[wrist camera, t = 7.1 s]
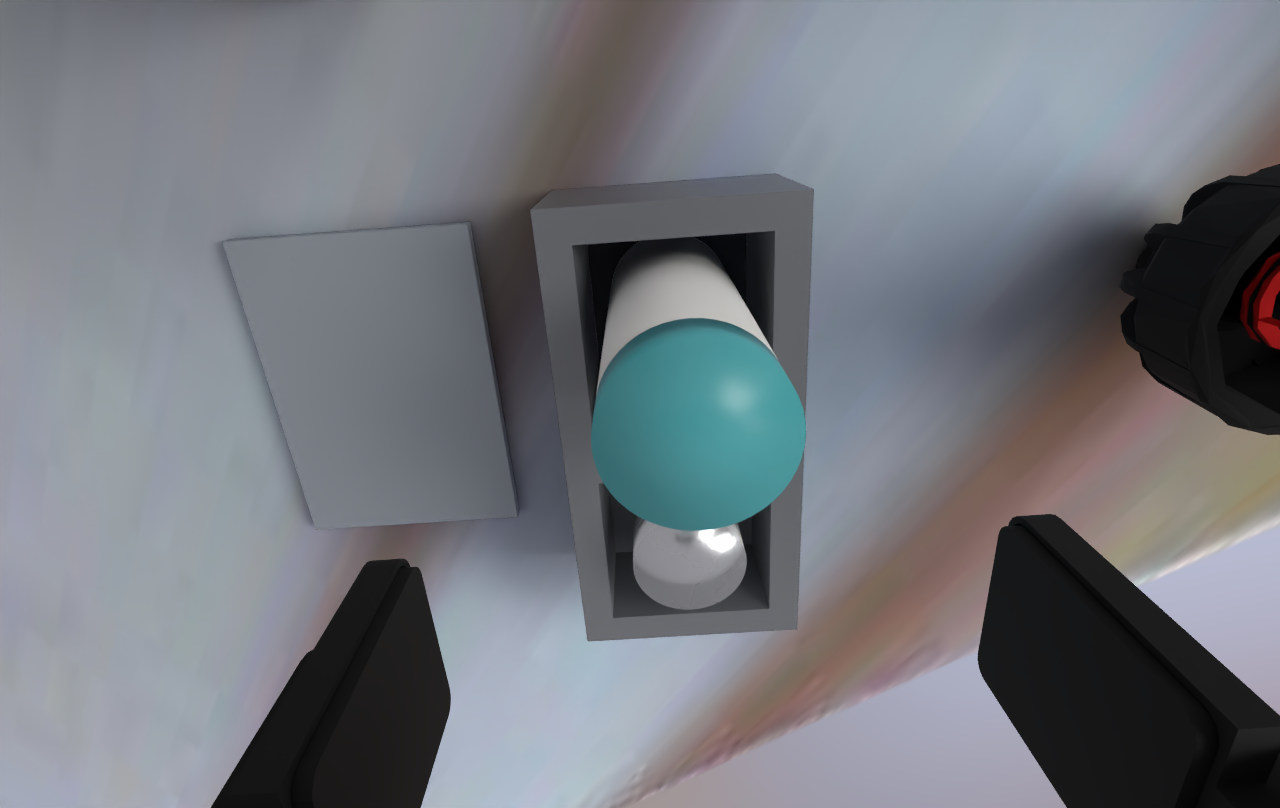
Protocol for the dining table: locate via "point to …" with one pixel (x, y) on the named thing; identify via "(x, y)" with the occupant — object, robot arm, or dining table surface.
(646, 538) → the silver metallic cylinder
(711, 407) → the cylinder
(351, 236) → the mat
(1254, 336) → the filter
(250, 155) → the dining table surface
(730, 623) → the housing
